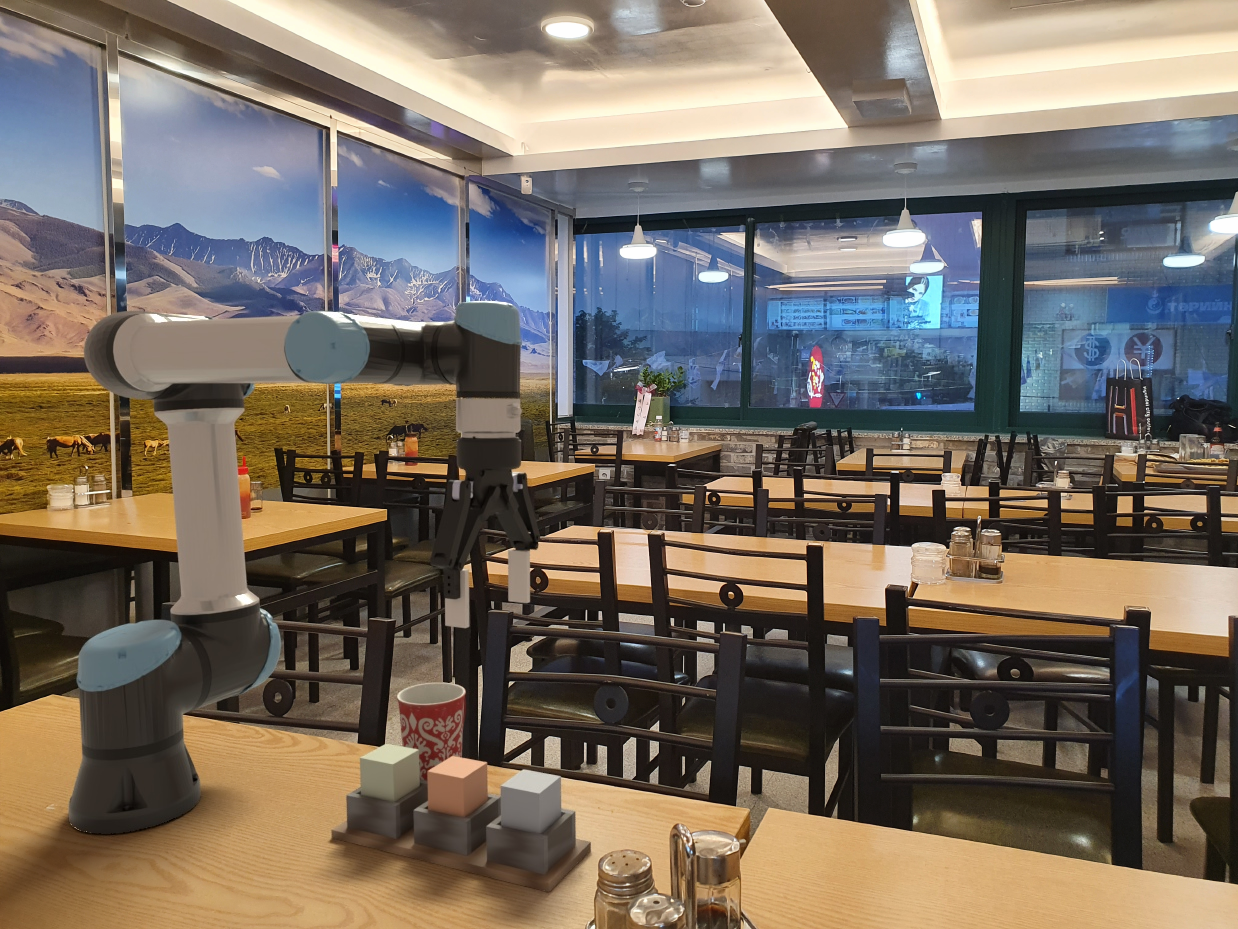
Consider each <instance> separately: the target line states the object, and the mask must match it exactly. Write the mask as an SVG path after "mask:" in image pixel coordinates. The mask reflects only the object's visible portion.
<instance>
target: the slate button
mask: <svg viewBox="0 0 1238 929" xmlns="http://www.w3.org/2000/svg"><path fill="white" fill-rule="evenodd" d="M499 788H500V796H501V826H504V827H509V828H513V829H518V830H523V831H527V832H532V833H536V834H542V833H544V832H545V831H546V830H547V829H548V828H549V827H550V826H552V825H553V824H554V823H555V822H556V821H557V820H558V819H560V818H561V808H562V776H561V775H555V774H549V773H545V772H544V773H543V772H539V771H533V770H530V769H522V770H521V771H519V772H518V773H516V774H514V775H513V776H512V777H511V778H509V779H508V780H506V781H505V782H503V783H502V784H500V787H499Z"/></svg>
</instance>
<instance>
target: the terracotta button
mask: <svg viewBox="0 0 1238 929" xmlns="http://www.w3.org/2000/svg"><path fill="white" fill-rule="evenodd" d="M427 776H428V810H432V811H437V812H441V813H446V814H450V815H455V816H459V817H464V818H465V817H467V816H468V815H469V814H471V813H472V812H473V811H475V810H476V809H477V808H479V807H480V806H482V805H483V804H484V803H486V802H487V801H488V793H489V792H488V788H489V787H488V784H489V783H488V781H489V780H488V762H487V761H481V760H475V759H470V758H465V757H462V758H461V757H455V756H452V757H450V758H448V759H447V760H445V761H443V762H442V763H440V764H438V765H437V766H435V767H433V768H432V769H430V770H429V771H427Z"/></svg>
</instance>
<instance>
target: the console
mask: <svg viewBox="0 0 1238 929" xmlns="http://www.w3.org/2000/svg"><path fill="white" fill-rule="evenodd" d="M345 797H346V799H345V800H346V803H345V804H346V820H345V821H344V822H341V823H340V824H338V825H337V826H335V827H333V828H332V829H331V830H330V831H331V833H330V834H331V839H336V840H339V841H343V842H347V843H350V844H354V845H355V844H356V845H358V846H364V847H367V848H371V849H375V850H379V851H383V852H386V853H387V852H388V853H391V854H395V855H399V856H403V857H407V858H411V859H416V860H418V861H422V862H427V863H430V864H435V865H438V866H442V867H447V868H451V869H455V870H459V871H463V872H467V873H471V874H475V875H479V876H483V877H487V878H491V879H495V880H499V881H503V882H507V883H511V884H515V885H520V886H523V887H527V888H531V889H534V890H539V891H543V892H547V893H550V892H551V891H552V890H553V889H554V888H555V887H556V886H557V885H558V884H559V883H560V882H562V880H563V879H564V878H565V877H566V876H567V875H568V874H569V873H570V872H572V870H573V869H574V868H575V867H576V866H577V865H578V864H579V863H580V862H581V861H582V860H583V859H584V858H585V857H586V856H587V855H588V854H589V853H590V852H591V851H592V849H591V848H592V845H591V844H592V841H590V840H589V841H588V840H583V839H580V838H576V833H577V831H576V830H577V829H576V828H577V826H576V825H577V824H576V822H577V821H576V819H577V818H576V810H571V809H567V808H562V807H561V818H560V819H558V820H557V821H556V822H555V823H554V824H553V825H552V826H550V827H549V828H548V829H547V830H546V831H545V832H544V833H542V834H536V833H532V832H527V831H523V830H518V829H513V828H509V827H504V826H501V795H499V794H493V793H489V792H488V801H487V802H486V803H484V804H483V805H482V806H480V807H479V808H477V809H476V810H475V811H473V812H472V813H471V814H469V815H468V816H467V817H465V818H464V817H459V816H455V815H450V814H446V813H441V812H437V811H432V810H428V781H426V780H421V779H420V786H419V787H418V788H416V789H415V790H413V791H411V792H410V793H408V794H407V795H405V796H403V797H402V798H400V799H399V800H397V801H396V802H391V801H387V800H382V799H378V798H373V797H369V796H364V795H361V786H360V787H358V788H356V789H355V790H352V791H351V792H349V793H347V794H346V796H345Z"/></svg>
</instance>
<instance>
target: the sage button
mask: <svg viewBox="0 0 1238 929" xmlns="http://www.w3.org/2000/svg"><path fill="white" fill-rule="evenodd" d="M359 771H360V772H359V773H360V775H359V776H360V778H359V779H360V787H361V795H364V796H369V797H373V798H378V799H382V800H387V801H391V802H396V801H397V800H399V799H400V798H402V797H403V796H405V795H407V794H408V793H410V792H411V791H413V790H415V789H416V788H418V787H419V786H420V776H419V750H418V749H413V748H407V747H402V745H396V744H391V743H385V744H383V745H381V746H379V747H378V748H376V749H374V750H372V751H369V752H368V753H366V754H364V755H362V756H360V757H359Z"/></svg>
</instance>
